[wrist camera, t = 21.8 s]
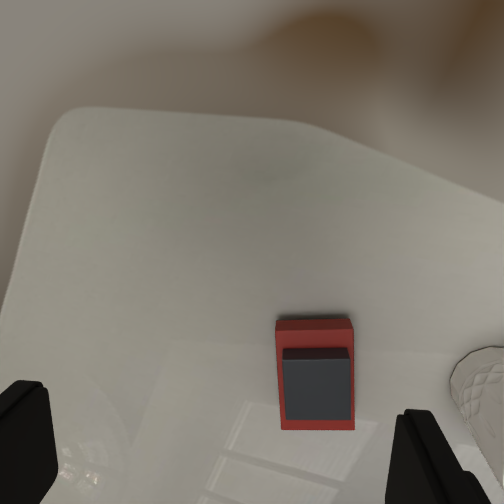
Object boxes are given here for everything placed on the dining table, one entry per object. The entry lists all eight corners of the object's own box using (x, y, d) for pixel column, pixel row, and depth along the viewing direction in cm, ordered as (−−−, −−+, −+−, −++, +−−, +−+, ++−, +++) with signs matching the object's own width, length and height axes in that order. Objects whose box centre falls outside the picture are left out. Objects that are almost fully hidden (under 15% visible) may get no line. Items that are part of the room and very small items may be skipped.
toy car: (274, 341, 29) (357, 339, 28) (276, 315, 33) (348, 313, 32) (280, 445, 31) (358, 446, 30) (282, 407, 35) (349, 407, 35)
